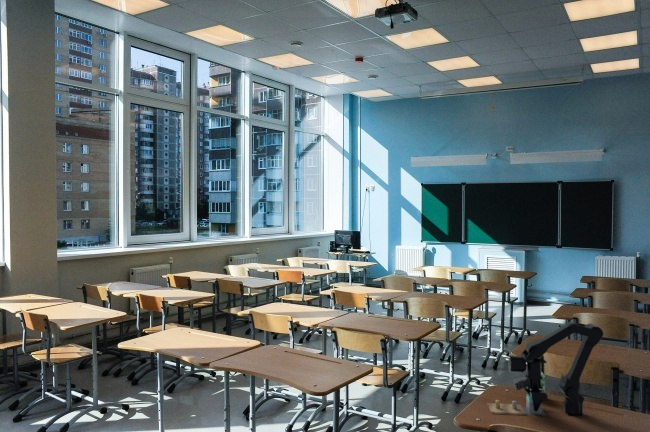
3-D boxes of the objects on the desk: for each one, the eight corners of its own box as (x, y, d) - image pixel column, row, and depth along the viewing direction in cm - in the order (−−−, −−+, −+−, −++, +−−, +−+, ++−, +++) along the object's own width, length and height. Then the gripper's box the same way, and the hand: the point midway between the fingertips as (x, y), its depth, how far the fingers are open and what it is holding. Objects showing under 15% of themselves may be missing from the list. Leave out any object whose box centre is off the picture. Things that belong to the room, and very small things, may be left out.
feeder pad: (541, 408, 221) (541, 407, 221) (546, 415, 213) (546, 415, 213) (521, 407, 223) (521, 406, 223) (526, 414, 215) (526, 414, 215)
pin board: (520, 406, 224) (520, 397, 224) (526, 415, 214) (526, 406, 214) (487, 405, 226) (487, 396, 225) (491, 414, 216) (491, 404, 216)
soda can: (527, 400, 231) (527, 374, 231) (526, 394, 238) (526, 369, 238) (545, 402, 228) (545, 375, 228) (543, 396, 236) (543, 370, 236)
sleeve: (538, 409, 220) (538, 395, 220) (541, 413, 215) (541, 399, 215) (526, 408, 221) (526, 394, 221) (529, 413, 216) (529, 398, 216)
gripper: (509, 365, 228) (509, 399, 228) (519, 378, 210) (519, 416, 210) (535, 366, 227) (535, 400, 227) (548, 379, 208) (548, 417, 208)
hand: (534, 408), depth 218 cm, fingers closed on sleeve, 5 cm apart
